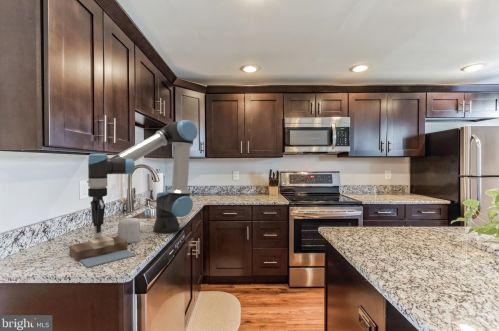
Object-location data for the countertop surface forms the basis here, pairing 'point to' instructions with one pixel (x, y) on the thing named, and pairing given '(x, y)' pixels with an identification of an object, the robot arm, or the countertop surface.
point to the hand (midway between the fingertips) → (97, 239)
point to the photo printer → (129, 230)
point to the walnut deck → (86, 251)
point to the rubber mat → (106, 258)
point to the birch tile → (100, 242)
